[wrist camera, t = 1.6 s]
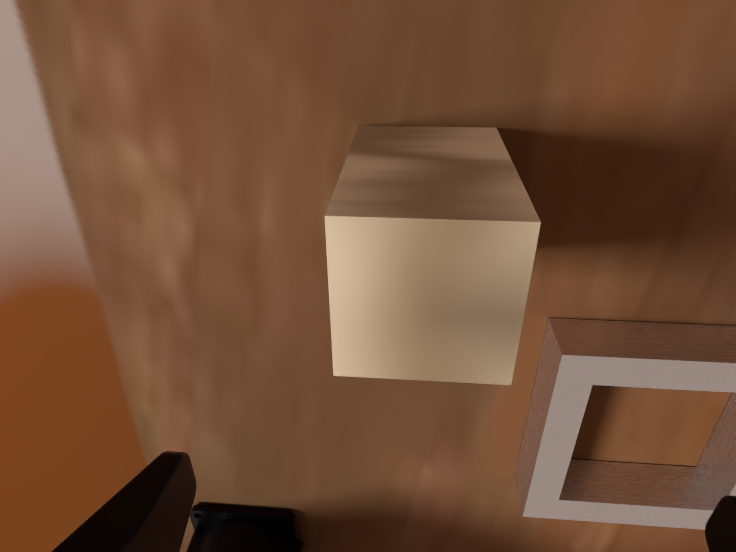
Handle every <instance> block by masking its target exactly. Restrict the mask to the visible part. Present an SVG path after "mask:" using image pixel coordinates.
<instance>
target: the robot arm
mask: <svg viewBox="0 0 736 552" xmlns="http://www.w3.org/2000/svg"><path fill="white" fill-rule="evenodd" d="M195 493H196V479H195V475H194V472H193V468H192V464H191V461H190V458H189V455H188V454H187V453H184V452H173V451H166V452H164V453H162V454H160V455H159V456H158V457H157V458H156V459H154V460H153V461H152V462H151V463H150V464H149V465H148V466H147V467H145V468H144V469H143V470H142V471H141V472H140V473H139V474H138V475H137V476H135V477H134V478H133V479H132V480H131V481H130V482H129V483H128V484H126V485H125V486H124V487H123V488H122V489H121V490H120V491H119V492H118V493H116V494H115V495H114V496H113V497H112V498H111V499H110V500H109V501H107V502H106V503H105V504H104V505H103V506H102V507H101V508H100V509H98V511H96V512H95V513H94V514H93V515H92V516H91V517H90V518H88V519H87V520H86V521H85V522H84V523H83V524H82V525H81V526H79V527H78V528H77V529H76V530H75V531H74V532H73V533H72V534H70V535H69V536H68V537H67V538H66V539H65V540H64V541H63V542H62V543H60V544H59V545H58V546H57V547H56V548H55V549H54V550H53V551H52V552H179V551H180V548H181V544H182V540H183V537H184V533H185V530H186V526H187V523H188V519H189V515H190V518H191V521H192V524H193V528H194V533H193V536H192V538H191V541H190V543H189V546H188V548H187V551H186V552H304V546H303V542H302V540H301V539H298V533H297V525H296V518H295V515H294V514H293V513H291V512H287V511H275V510H261V509H248V508H234V507H220V506H207V505H195V506H193V507H192V505H193V501H194V498H195ZM191 508H192V509H191ZM705 537H706V541H707V545H708V548H709V552H736V496H731V495H726V496H724V497H722V498H721V499H720V501H719V502H718V504H717V506H716V507H715V509H714V511H713V512H712V514H711V516H710V517H709V519H708V521H707V523H706V526H705Z"/></svg>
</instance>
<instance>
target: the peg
mask: <svg viewBox="0 0 736 552" xmlns="http://www.w3.org/2000/svg"><path fill="white" fill-rule="evenodd" d="M540 225H541V221H540V219H539V217H538V215H537V213H536V211H535V208H534V206H533V204H532V202H531V200H530V198H529V196H528V194H527V191H526V189H525V187H524V185H523V183H522V181H521V179H520V177H519V175H518V172H517V170H516V168H515V166H514V164H513V162H512V160H511V158H510V156H509V153H508V151H507V149H506V147H505V145H504V143H503V141H502V139H501V137H500V134H499V132H498V130H497V128H487V127H423V126H358V129H357V131H356V134H355V136H354V139H353V142H352V144H351V147H350V150H349V152H348V155H347V158H346V160H345V163H344V166H343V168H342V171H341V174H340V176H339V179H338V182H337V184H336V187H335V190H334V192H333V195H332V198H331V200H330V203H329V206H328V208H327V211H326V214H325V231H326V249H327V267H328V285H329V303H330V321H331V339H332V357H333V375H334V376H350V377H369V378H388V379H407V380H426V381H445V382H463V383H482V384H501V385H511V383H512V377H513V372H514V366H515V361H516V355H517V350H518V344H519V339H520V334H521V328H522V323H523V317H524V312H525V306H526V301H527V296H528V290H529V285H530V279H531V274H532V268H533V263H534V258H535V252H536V247H537V241H538V236H539V230H540Z"/></svg>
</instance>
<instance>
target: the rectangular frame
mask: <svg viewBox="0 0 736 552" xmlns="http://www.w3.org/2000/svg"><path fill="white" fill-rule="evenodd" d="M593 385H602V386H621V387H640V388H660V389H679V390H698V391H717V392H733V393H732V395H731V397H730V399H729V401H728V403H727V406H726V408H725V410H724V412H723V414H722V416H721V418H720V420H719V422H718V424H717V426H716V428H715V430H714V432H713V434H712V436H711V438H710V440H709V442H708V444H707V446H706V448H705V450H704V452H703V454H702V457H701V459H700V461H699V463H698V465H697V467H686V466H670V465H654V464H638V463H622V462H607V461H591V460H575V459H571V457H572V453H573V450H574V446H575V443H576V440H577V436H578V433H579V430H580V426H581V423H582V419H583V416H584V413H585V409H586V406H587V402H588V399H589V396H590V392H591V389H592V386H593ZM515 478H516V483H517V489H518V494H519V499H520V505H521V510H522V515H523V517H537V518H551V519H565V520H579V521H592V522H606V523H620V524H634V525H648V526H662V527H676V528H690V529H703V530H705V526H706V523H707V521H708V519H709V517H710V516H711V514H712V512H713V511H714V509H715V507H716V506H717V504H718V502H719V501H720V499H721V498H722V497H724V496H726V495H731V496H736V326H724V325H701V324H677V323H654V322H631V321H608V320H585V319H561V318H548V323H547V328H546V332H545V337H544V342H543V346H542V351H541V355H540V360H539V365H538V369H537V374H536V379H535V383H534V388H533V393H532V397H531V402H530V406H529V411H528V416H527V420H526V425H525V430H524V434H523V439H522V443H521V448H520V453H519V457H518V462H517V467H516V471H515Z"/></svg>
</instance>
